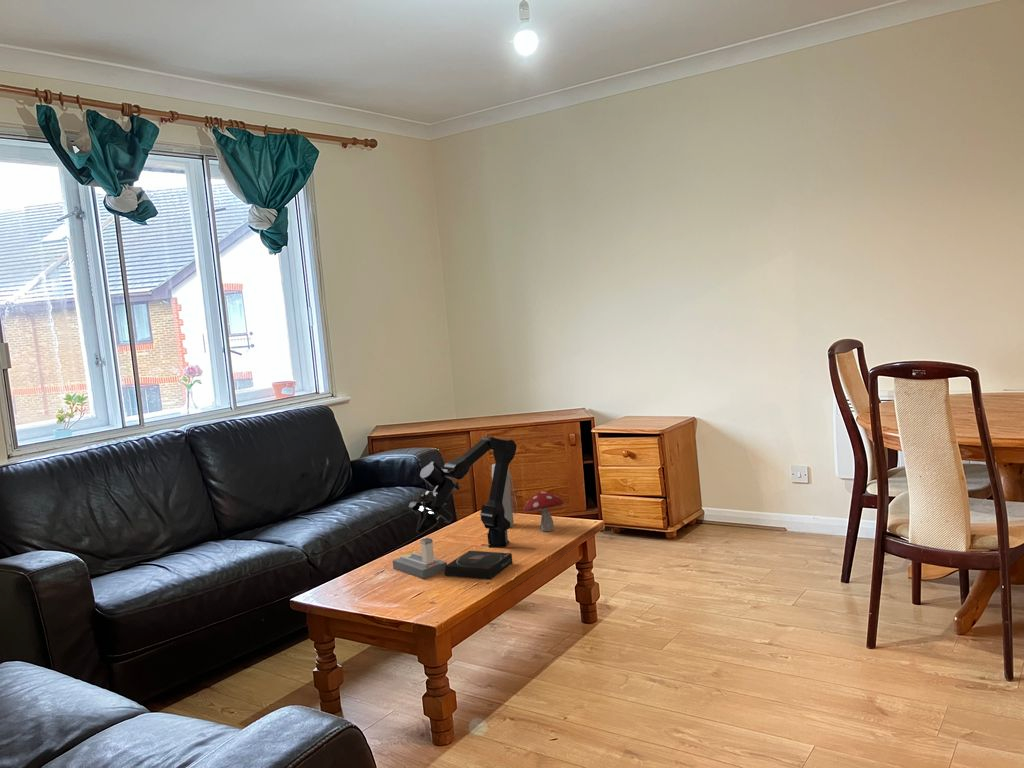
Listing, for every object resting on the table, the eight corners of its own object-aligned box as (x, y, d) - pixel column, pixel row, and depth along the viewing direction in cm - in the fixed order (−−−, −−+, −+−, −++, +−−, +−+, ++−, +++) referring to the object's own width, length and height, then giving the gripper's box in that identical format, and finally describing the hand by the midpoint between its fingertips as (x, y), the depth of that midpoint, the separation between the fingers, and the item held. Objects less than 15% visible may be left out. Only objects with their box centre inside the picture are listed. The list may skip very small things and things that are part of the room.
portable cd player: (469, 561, 279) (467, 550, 279) (512, 564, 272) (511, 553, 271) (444, 577, 265) (443, 565, 264) (490, 581, 257) (489, 569, 257)
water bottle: (494, 529, 316) (488, 466, 314) (497, 523, 324) (492, 462, 321) (517, 528, 314) (511, 465, 312) (520, 522, 322) (515, 461, 320)
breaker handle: (429, 560, 271) (427, 537, 270) (434, 562, 269) (432, 539, 268) (422, 563, 269) (420, 539, 268) (427, 564, 267) (425, 541, 266)
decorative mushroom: (520, 536, 303) (516, 497, 302) (531, 524, 318) (528, 487, 317) (560, 536, 298) (557, 497, 297) (570, 524, 313) (567, 487, 312)
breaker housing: (417, 560, 283) (416, 549, 283) (447, 570, 270) (446, 559, 269) (393, 568, 277) (392, 557, 276) (423, 579, 263) (422, 567, 263)
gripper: (410, 478, 278) (386, 516, 272) (441, 484, 264) (417, 524, 258) (430, 495, 284) (407, 533, 278) (462, 502, 270) (439, 542, 263)
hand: (417, 533), depth 269 cm, fingers closed
